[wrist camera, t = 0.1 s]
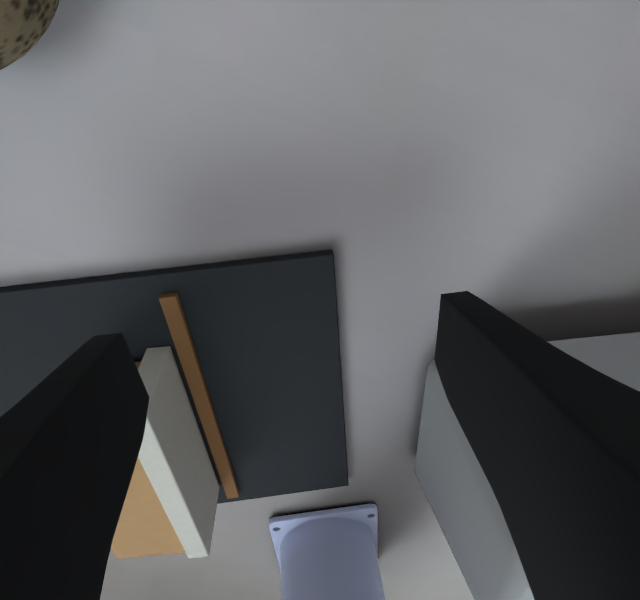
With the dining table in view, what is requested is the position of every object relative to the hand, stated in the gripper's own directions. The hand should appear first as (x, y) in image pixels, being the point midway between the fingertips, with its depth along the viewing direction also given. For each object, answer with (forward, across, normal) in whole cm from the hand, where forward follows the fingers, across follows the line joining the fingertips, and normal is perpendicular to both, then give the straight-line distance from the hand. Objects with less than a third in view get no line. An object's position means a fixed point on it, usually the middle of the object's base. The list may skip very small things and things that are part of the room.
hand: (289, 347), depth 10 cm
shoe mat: (+10, +9, +12) cm, 18 cm away
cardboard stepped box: (+10, +9, +13) cm, 18 cm away
